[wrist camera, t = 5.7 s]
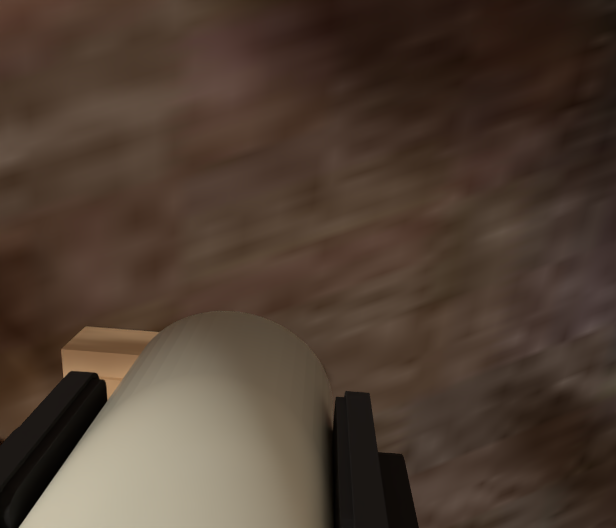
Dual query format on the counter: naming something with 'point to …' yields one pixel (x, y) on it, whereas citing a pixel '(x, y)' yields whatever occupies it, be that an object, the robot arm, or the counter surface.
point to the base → (105, 353)
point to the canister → (205, 436)
